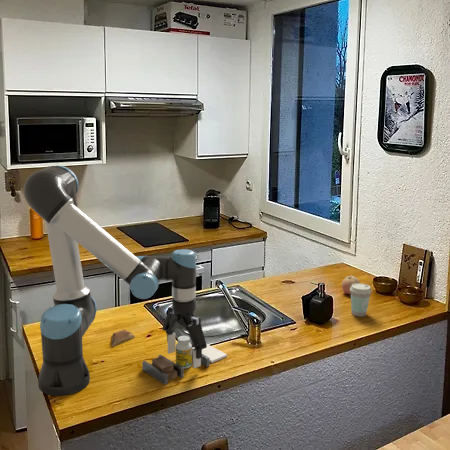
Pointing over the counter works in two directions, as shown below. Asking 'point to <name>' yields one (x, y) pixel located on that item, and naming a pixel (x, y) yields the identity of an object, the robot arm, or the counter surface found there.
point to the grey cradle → (180, 371)
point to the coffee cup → (360, 299)
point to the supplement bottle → (184, 352)
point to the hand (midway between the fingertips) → (183, 359)
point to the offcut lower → (171, 374)
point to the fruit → (349, 283)
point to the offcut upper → (163, 364)
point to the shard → (121, 337)
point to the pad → (213, 353)
